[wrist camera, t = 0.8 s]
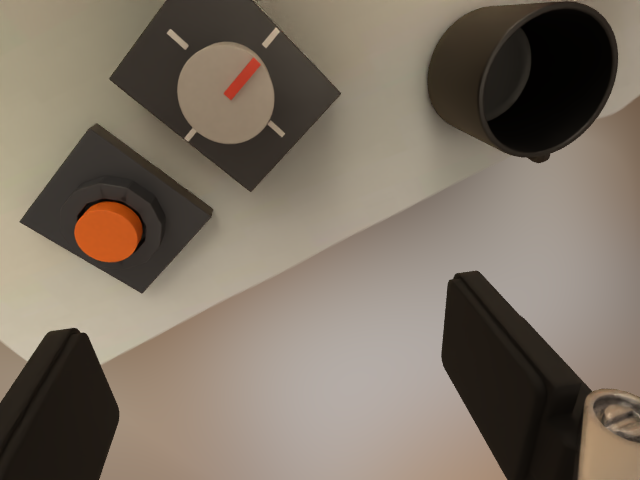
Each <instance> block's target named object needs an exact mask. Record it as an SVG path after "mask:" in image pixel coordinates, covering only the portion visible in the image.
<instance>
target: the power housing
mask: <svg viewBox="0 0 640 480" xmlns="http://www.w3.org/2000/svg"><path fill="white" fill-rule="evenodd" d="M106 201H110V202H117V203H120V204H123V205H125V206H127V207H129V208H130V209H131V210H133V211H134V212H135V213H136V214H137V216H138V217H139V219H140V221H141V223H142V228H143V233H142V237H141V239H140V241H139V243H138V245H137V247H136V249H135V251H134V252H133V253H132V254H131V255H130V256H129V257H128V258H126V259H124V260H121V261H118V262H103V261H99V260H96V259H94V258H92V257H90V256H89V255H87V254H86V253H85V252H83V251H82V249H81V248H80V247H79V246H78V244H77V242H76V239H75V234H74V231H75V226H76V223H77V222H78V220H79V219H80V218H81V216H82V215H83V214H84V213H85V212H86V211H87V210H88V209H89V208H90V207H91V206H93V205H94V204H97V203H100V202H106ZM212 211H213V209H212V208H211V207H209V206H208V205H207V204H205V203H204V202H203V201H201V200H200V199H199V198H197V197H196V196H194V195H193V194H192V193H190V192H189V191H188V190H186V189H185V188H184V187H182V186H181V185H180V184H178V183H177V182H175V181H174V180H173V179H171V178H170V177H169V176H167V175H166V174H165V173H163V172H162V171H161V170H159V169H158V168H157V167H155V166H154V165H152V164H151V163H150V162H148V161H147V160H146V159H144V158H143V157H142V156H140V155H139V154H138V153H136V152H135V151H133V150H132V149H131V148H129V147H128V146H127V145H125V144H124V143H123V142H121V141H120V140H119V139H117V138H116V137H115V136H113V135H112V134H110V133H109V132H108V131H106V130H105V129H104V128H102V127H101V126H100V125H98V124H95V125H94V126H92V127H90V128H89V129H88V131H87V132H86V133H85V135H84V136H83V137H82V139H81V140H80V141H79V143H78V144H77V145H76V147H75V148H74V149H73V151H72V152H71V153H70V155H69V156H68V157H67V159H66V160H65V161H64V163H63V164H62V165H61V167H60V168H59V169H58V171H57V172H56V173H55V175H54V176H53V177H52V179H51V180H50V181H49V183H48V184H47V185H46V187H45V188H44V190H43V191H42V192H41V194H40V195H39V196H38V198H37V199H36V200H35V202H34V203H33V204H32V206H31V207H30V208H29V210H28V211H27V212H26V214H25V215H24V216H23V218H22V219H21V220H20V223H22V224H24V225H25V226H27V227H29V228H31V229H32V230H34V231H36V232H37V233H39V234H41V235H43V236H44V237H46V238H48V239H49V240H51V241H53V242H55V243H56V244H58V245H60V246H61V247H63V248H65V249H67V250H68V251H70V252H72V253H73V254H75V255H77V256H79V257H80V258H82V259H84V260H85V261H87V262H89V263H91V264H92V265H94V266H96V267H97V268H99V269H101V270H103V271H104V272H106V273H108V274H109V275H111V276H113V277H115V278H116V279H118V280H120V281H121V282H123V283H125V284H127V285H128V286H130V287H132V288H133V289H135V290H137V291H139V292H140V293H143V292H144V291H145V290H146V289H147V288H148V287H149V285H150V284H151V283H152V282H153V281H154V280H155V279H156V278H157V277H158V275H159V274H160V273H161V272H162V271H163V270H164V269H165V268H166V267H167V266H168V264H169V263H170V262H171V261H172V260H173V259H174V258H175V257H176V256H177V254H178V253H179V252H180V251H181V250H182V249H183V248H184V247H185V246H186V244H187V243H188V242H189V241H190V240H191V239H192V238H193V237H194V236H195V235H196V233H197V232H198V231H199V230H200V229H201V228H202V227H203V226H204V225H205V223H206V222H207V221H208V220H209V219H210V218H211V216H212Z"/></svg>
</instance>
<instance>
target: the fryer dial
mask: <svg viewBox="0 0 640 480" xmlns="http://www.w3.org/2000/svg"><path fill="white" fill-rule="evenodd" d="M177 93H178V101H179V105H180V108H181V111H182V113H183V115H184V117H185V118H186V120H187V121H188V123H189V124H190V125H191V126H192V128H194V129H195V130H196V131H197V132H198V133H199V134H201V135H202V136H204V137H205V138H207V139H209V140H212V141H214V142H218V143H223V144H237V143H241V142H245V141H247V140H250V139H251V138H253V137H255V136H256V135H258V134H259V133H260V132H261V131H262V130H263V129H264V128H265V126H266V125H267V123H268V122H269V120H270V118H271V115H272V112H273V108H274V88H273V84H272V81H271V78H270V75H269V73H268V70H267V68H266V66H265V64H264V63H263V61H262V60H261V59H260V57H259V56H258V55H257V54H256V53H254V52H253V51H252V50H251V49H249V48H248V47H246V46H244V45H241V44H238V43H234V42H218V43H214V44H212V45H209V46H207V47H205V48H203V49H202V50H200V51H198V52H196V53H195V54H194V55H193V56H192V57H191V58H190V59H189V60H188V61H187V62H186V64H185V65H184V67H183V69H182V71H181V73H180V76H179V80H178V88H177Z"/></svg>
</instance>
